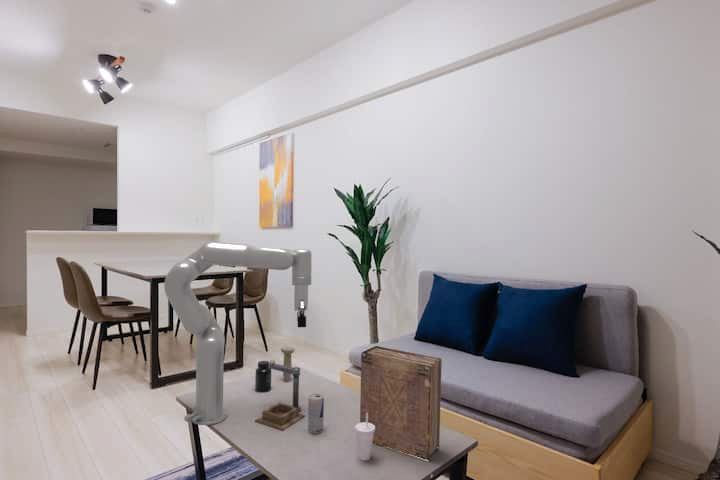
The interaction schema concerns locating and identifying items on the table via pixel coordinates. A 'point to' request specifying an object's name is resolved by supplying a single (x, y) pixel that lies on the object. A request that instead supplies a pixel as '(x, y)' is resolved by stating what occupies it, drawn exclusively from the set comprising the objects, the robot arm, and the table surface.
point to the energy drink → (315, 413)
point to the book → (402, 399)
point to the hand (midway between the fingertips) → (301, 324)
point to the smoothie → (364, 439)
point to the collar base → (283, 412)
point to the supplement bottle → (263, 377)
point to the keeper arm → (284, 368)
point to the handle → (287, 361)
